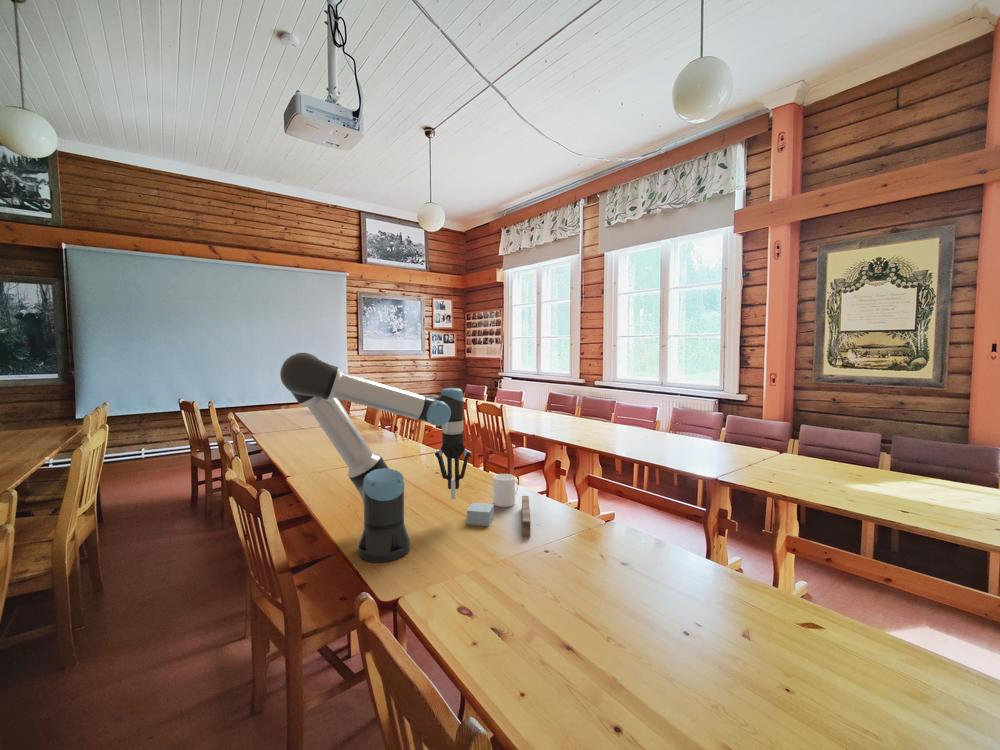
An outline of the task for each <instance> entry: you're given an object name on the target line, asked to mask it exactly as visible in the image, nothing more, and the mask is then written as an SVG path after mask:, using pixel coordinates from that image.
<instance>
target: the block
mask: <svg viewBox="0 0 1000 750" xmlns="http://www.w3.org/2000/svg"><path fill="white" fill-rule="evenodd" d="M494 517H495V504H494V503H484V502H483V503H482V502H471V504H470V506H469V507H468V508H467V510H466V524H467V525H473V526H483V527H485V526H487V527H490V525H491V524H492V521H493V519H494Z"/></svg>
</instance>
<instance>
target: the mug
mask: <svg viewBox="0 0 1000 750" xmlns="http://www.w3.org/2000/svg"><path fill="white" fill-rule="evenodd" d="M492 478H493V479H492V484H493V485H492V486H493V488H492V489H493V490H492V491H493V493H492V497H493V498H492V499H493V500H492V501H493V503H492V504H494V506H496V507H498V506H499V507H500V508H509V507H513V506H514V505H515V503H516V495H517V492H518V489H519V488H518V487H519V484H518V483H519V482H518V481H517V479H516V475H513V474H511V473H498V474H495V475H493V476H492Z"/></svg>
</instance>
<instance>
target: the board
mask: <svg viewBox="0 0 1000 750" xmlns="http://www.w3.org/2000/svg"><path fill="white" fill-rule="evenodd" d="M521 523H522V524H521V527H522V529H521V530H522V531H521V532H522V537H531V509H530V497H529V495H521Z"/></svg>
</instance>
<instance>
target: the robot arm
mask: <svg viewBox="0 0 1000 750" xmlns="http://www.w3.org/2000/svg"><path fill="white" fill-rule="evenodd" d="M279 376H280V381H281V383H282V384H283V386H284V387H285V389H286V390H288V391H289V392H290V393H291V394H292V396H293V397H294V398H295V400H296V401H297V403H298V404H299V405H300V406H305V407H307V408H308V409H309V411H310V412H311V414H312V416H313V417H314V418H315V420H316V421H317V423H318V424H319V426H320V427H321V429H322V431H323V432H324V433H325V435H326V437H327V438H328V439H329V441H330V443H331V444H332V445H333V446H334V448H335V450H336V451H337V452H338V454H339V456H340V458H341V459H342V460H343V462H344V463H345V465H346V466H347V467H348V472H347V476H348V478H349V480H350V481H351V483H352V484H353V486H355V488H356V490H357V491H358V494H359V495H360V498H361V500H362V502H363V530H362V533H361V536H360V539H359V542H358V545H357V554H358V557H359V558H360V559H361V560H363V561H365V562H371V563H386V562H392V561H395V560H399V559H401V558H402V557H404V556H405V555H407V554H408V553H409V552H410V550H411V539H410V536H409V533H408V530H407V528H406V525H405V481H404V476H403V474H402V473H401V471H398V470H396V469H393V468H390V467H389V466H388V465H387V463H386V462H385V460H384V459H383V457H382V456H381V454H379V453H374V452H373V451H372V449H371V447H370V445H368V443H367V441H366V439H364V436H363V435H362V433H361V432H360V431H359V429H358V428H357V426H356V424H355V423H354V421H353V420H352V418H351V417H350V415H349V413H348V412H347V410H346V409H345V408H344V406H343V404H342V403H341V401H345V402H349V403H353V404H357V405H360V406H364V407H368V408H371V409H376V410H380V411H383V412H387V413H390V414H391V413H392V414H394V415H399V416H403V417H407V418H409V419H412V420H413V419H414V420H418V421H419V422H420V421H421V422H425V423H429V424H430V425H432V426H436V427H441V431H442V433H441V443H442V445H441V446H440V447H441V448H440V449H438V450H436V451H435V453H434V456H435V457H436V458H437V461H438V464H439V469H440V472H441V477H442V479H444V480H446V481H447V488H448V490H450V497H451V498H450V499H451V500H456V498H457V490H459V489H460V480H463V479H464V477H465V475H466V474H465V473H466V469H467V464H468V460H469V458H470V456H471V455H472V451H471V450H468V449H466V445H465V442H464V440H465V439H464V438H465V437H464V432H463V431H465V430H464V402H465V401H464V394H463V390H462V389H461V388H458V387H446V388H442V389H441V393H440V394H436V395H435V394H434V395H432V394H431V395H421V394H418V393H415V392H411V391H408V390H404V389H401V388H397V387H394V386H391V385H387V384H384V383H381V382H378V381H374V380H370V379H367V378H363V377H360V376H358V375H354V374H351V373H346V372H343V371H342V370H341V369H340V367H339V366H336V365H333V364H329V363H328V362H325V361H323V360H320V359H319V358H318V357H317V356H315V355H313V354H312V353H308V352H299V353H295V354H292V355H291V356H289V357H287V358H286V359H285V360H284V361H283V363H282V365H281V368H280V374H279ZM340 400H341V401H340ZM443 455H444V456H445V457H446V462H447V464H446V465H447V469H446V466H445V462H444V458H443ZM462 455H463V456H464V459H463V462H462V468H461V471H460V457H461V456H462ZM453 459H454V478H453Z"/></svg>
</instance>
